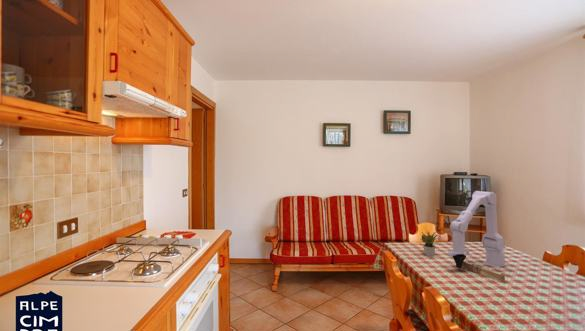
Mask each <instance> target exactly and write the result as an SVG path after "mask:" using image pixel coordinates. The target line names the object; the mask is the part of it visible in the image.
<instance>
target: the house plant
mask: <svg viewBox="0 0 585 331" xmlns="http://www.w3.org/2000/svg"><path fill="white" fill-rule="evenodd" d="M420 233H421V237H422V238H421V239H420V240H422V242H424V244H423V245H422V246H423V252H424V256H426V257H429V258H430V257H431V258H432V257H434V256H435V251H436V250H435V249H436V245H434V244H437V245H438V243H439V241H438V240H436V239H438V238H437V237H438V236H440V235H441V236H442V235H443V233H442V234H439V233H438V234H436V233H437V231H434V232H433V233H432V235H431V233H430V232H429V230H426V233H427V236H426V234H424V232H422V231H420ZM435 240H436V241H435Z"/></svg>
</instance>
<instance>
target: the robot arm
mask: <svg viewBox="0 0 585 331" xmlns="http://www.w3.org/2000/svg"><path fill="white" fill-rule="evenodd" d="M471 198H472V199H471V201H470V203H469V204H468V206H467V208H466V209H465V210H461V212H460V214H458V217H457V218H456V219H455V220H453V221H451V222H450V225H449V229H450V230H451V234H452V250H450V251H447V256H448V257H451V258H453V260H454V264H455V266H456V268H458V269H463V268H462V265H463V262H465V259H466V258H467V254H470V249H468V248H466V245H465V244H466V242H465V241H466V240H465V236H466V234H465V233H466V232H467V231H468V228H469V227H468V226H469V224H470V222H471V221H472V219H473V218H474V216H473V214H474V213H475V211H476V210H477V209H478V208H479V207H480V206H481V205H483V206H484V208H485V209H484V210H485V224H486V225H485V226H486V233H484V234H482V240H481V244H482V246H483V247H484V249H485V261H483V262H482V264H484V265H488V266H490V267H493V268H502V267H505V266H507V264H505V263H506V262H505V261H506V257H505V255H506V254H505V252H504V251H503V250H504V249H505V247H506V243H505V241H504V237H503V236H502V235H501V234H500V233H499V231H498V230H499V229H498V213H497V205H498V200H497V194H496V193H495V192H493V191H481V190H474V192H473V193H472V194H471Z"/></svg>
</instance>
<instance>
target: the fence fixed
mask: <svg viewBox="0 0 585 331" xmlns="http://www.w3.org/2000/svg"><path fill="white" fill-rule="evenodd" d="M477 266H478V273H477V274H478V275H481V276H482V277H483V276H484V277H486V278H489V279H492V280H495V281H497V282H500V283H503V284H505V282H506V274H505V273H503V272H502V273H498V272H496V271H495V272H494V271H493V270H489V269H486V268H483V267H482V266H481V265H477Z"/></svg>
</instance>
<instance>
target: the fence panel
mask: <svg viewBox="0 0 585 331" xmlns="http://www.w3.org/2000/svg"><path fill="white" fill-rule="evenodd" d="M478 266H479V265H475V264H474V263H473V264H471V263H468V262H466V261H464V262H463V265H462V268H461V269H464V270H467V271H469V272H472V273H475V274H478Z"/></svg>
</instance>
